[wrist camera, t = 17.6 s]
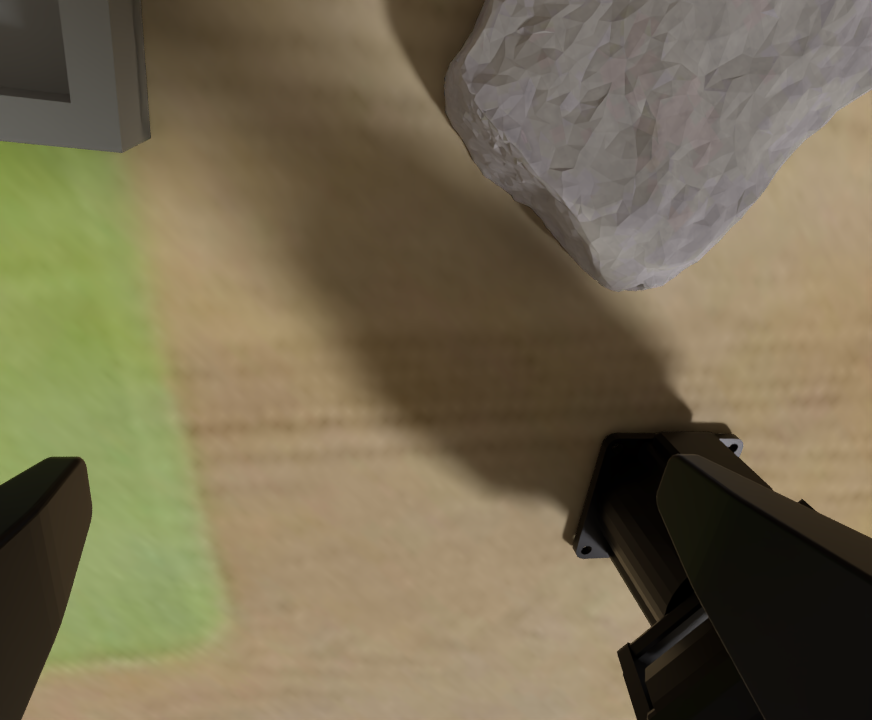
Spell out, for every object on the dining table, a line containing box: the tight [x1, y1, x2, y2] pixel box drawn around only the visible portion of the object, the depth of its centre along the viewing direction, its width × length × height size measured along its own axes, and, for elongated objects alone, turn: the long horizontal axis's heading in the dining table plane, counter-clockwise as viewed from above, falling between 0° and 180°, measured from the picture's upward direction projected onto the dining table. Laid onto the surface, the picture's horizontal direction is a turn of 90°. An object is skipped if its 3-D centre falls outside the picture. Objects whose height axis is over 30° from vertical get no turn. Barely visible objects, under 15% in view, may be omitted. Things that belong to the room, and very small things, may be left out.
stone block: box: [444, 0, 872, 292], centre depth 18 cm, size 12×5×10 cm
